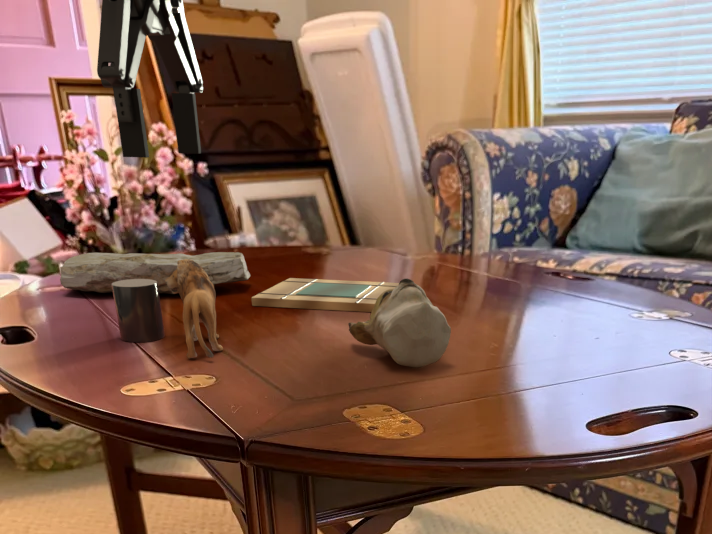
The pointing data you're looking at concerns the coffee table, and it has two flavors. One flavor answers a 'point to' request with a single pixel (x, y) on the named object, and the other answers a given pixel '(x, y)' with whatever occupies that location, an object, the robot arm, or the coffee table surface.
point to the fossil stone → (146, 269)
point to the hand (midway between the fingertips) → (164, 155)
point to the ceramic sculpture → (405, 326)
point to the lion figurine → (195, 304)
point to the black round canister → (138, 310)
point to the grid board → (323, 294)
